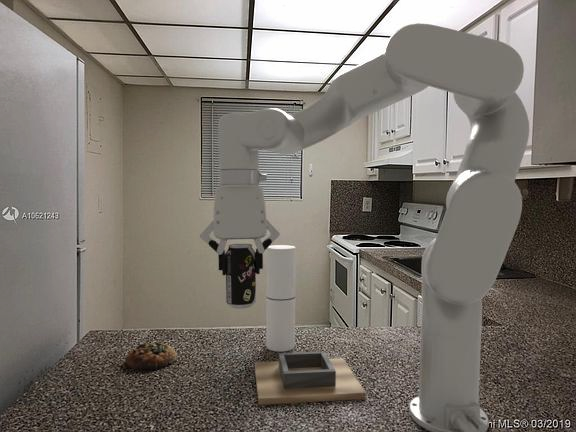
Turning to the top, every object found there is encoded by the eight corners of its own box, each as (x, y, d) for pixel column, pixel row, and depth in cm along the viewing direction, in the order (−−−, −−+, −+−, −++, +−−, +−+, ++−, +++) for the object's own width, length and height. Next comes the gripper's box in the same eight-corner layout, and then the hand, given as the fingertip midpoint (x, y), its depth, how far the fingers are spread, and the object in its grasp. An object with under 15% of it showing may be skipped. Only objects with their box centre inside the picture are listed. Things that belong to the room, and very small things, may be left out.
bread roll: (125, 374, 87) (125, 350, 87) (125, 361, 97) (126, 339, 97) (179, 369, 91) (180, 345, 91) (174, 357, 101) (174, 336, 101)
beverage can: (259, 302, 82) (258, 243, 82) (250, 310, 77) (249, 246, 76) (232, 301, 84) (231, 242, 83) (221, 309, 78) (220, 246, 77)
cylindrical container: (269, 352, 99) (270, 249, 97) (263, 342, 106) (263, 245, 104) (298, 349, 101) (299, 248, 99) (290, 339, 108) (291, 244, 106)
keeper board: (365, 398, 77) (365, 376, 77) (258, 404, 75) (258, 382, 74) (343, 363, 93) (343, 345, 93) (254, 367, 90) (254, 348, 90)
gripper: (281, 180, 84) (282, 268, 85) (195, 181, 81) (197, 271, 82) (286, 179, 76) (287, 275, 77) (191, 179, 74) (193, 279, 75)
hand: (240, 272), depth 80 cm, fingers closed on beverage can, 5 cm apart
